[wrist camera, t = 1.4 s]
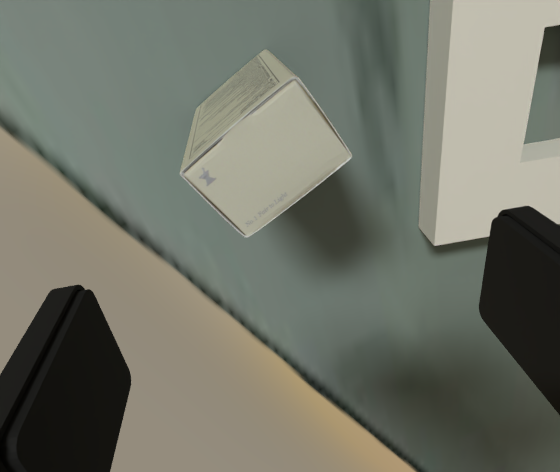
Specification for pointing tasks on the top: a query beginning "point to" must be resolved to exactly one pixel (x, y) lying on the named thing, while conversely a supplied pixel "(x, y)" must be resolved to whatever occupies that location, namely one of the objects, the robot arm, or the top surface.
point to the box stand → (484, 117)
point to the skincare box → (260, 145)
